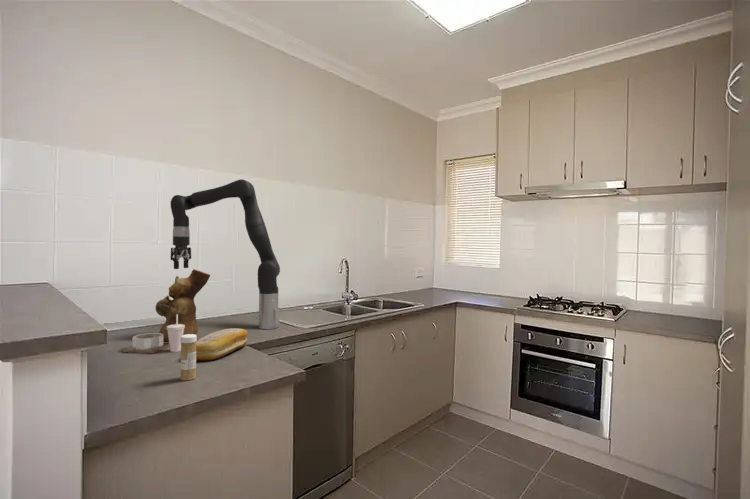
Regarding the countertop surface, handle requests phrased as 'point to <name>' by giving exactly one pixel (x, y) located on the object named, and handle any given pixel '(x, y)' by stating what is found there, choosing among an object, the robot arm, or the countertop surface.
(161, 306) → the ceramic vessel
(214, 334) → the bread
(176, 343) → the smoothie
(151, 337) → the duct collar
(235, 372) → the countertop surface
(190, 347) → the sprinkles bottle
